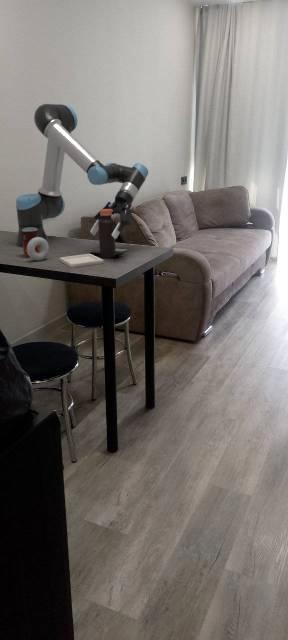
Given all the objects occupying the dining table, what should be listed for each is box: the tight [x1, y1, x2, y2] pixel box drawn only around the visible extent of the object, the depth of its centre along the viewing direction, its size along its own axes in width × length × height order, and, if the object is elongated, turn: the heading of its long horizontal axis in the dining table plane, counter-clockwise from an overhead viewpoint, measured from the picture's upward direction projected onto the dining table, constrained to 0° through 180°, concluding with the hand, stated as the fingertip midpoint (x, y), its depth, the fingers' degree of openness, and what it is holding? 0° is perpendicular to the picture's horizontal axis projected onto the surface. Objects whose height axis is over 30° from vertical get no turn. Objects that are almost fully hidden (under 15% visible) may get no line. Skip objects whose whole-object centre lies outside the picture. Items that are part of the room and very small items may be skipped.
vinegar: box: [98, 208, 116, 259], centre depth 215 cm, size 7×7×20 cm
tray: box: [59, 253, 104, 269], centre depth 209 cm, size 14×14×2 cm
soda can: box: [22, 227, 41, 258], centre depth 220 cm, size 7×7×12 cm
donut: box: [27, 237, 50, 261], centre depth 212 cm, size 10×3×10 cm, turn 128°
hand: (102, 235), depth 214 cm, fingers open, 12 cm apart
